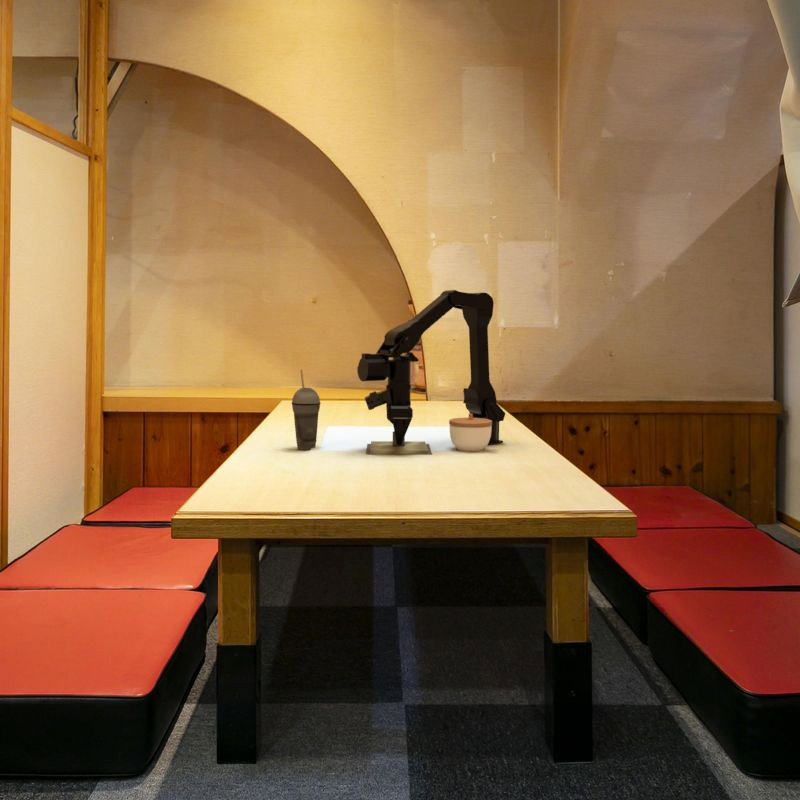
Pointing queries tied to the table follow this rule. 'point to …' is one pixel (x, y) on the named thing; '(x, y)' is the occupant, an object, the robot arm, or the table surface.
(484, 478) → the table surface
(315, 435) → the beverage cup
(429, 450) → the mat
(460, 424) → the lidded jar
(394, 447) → the lid
